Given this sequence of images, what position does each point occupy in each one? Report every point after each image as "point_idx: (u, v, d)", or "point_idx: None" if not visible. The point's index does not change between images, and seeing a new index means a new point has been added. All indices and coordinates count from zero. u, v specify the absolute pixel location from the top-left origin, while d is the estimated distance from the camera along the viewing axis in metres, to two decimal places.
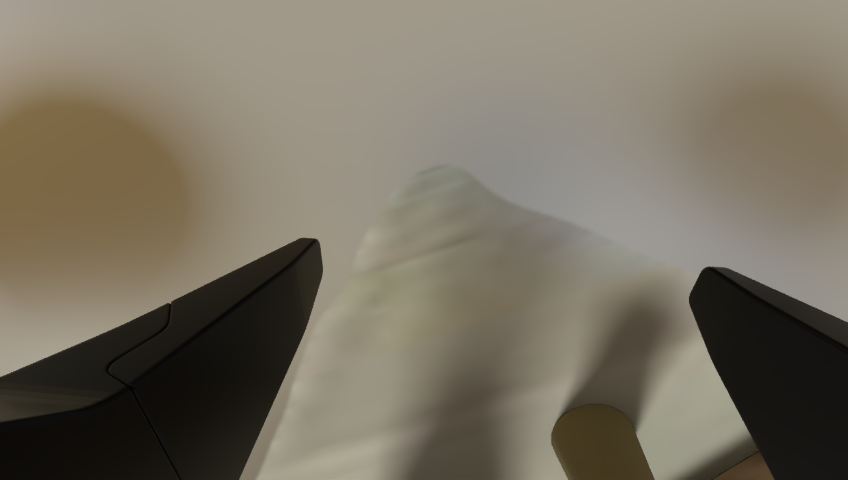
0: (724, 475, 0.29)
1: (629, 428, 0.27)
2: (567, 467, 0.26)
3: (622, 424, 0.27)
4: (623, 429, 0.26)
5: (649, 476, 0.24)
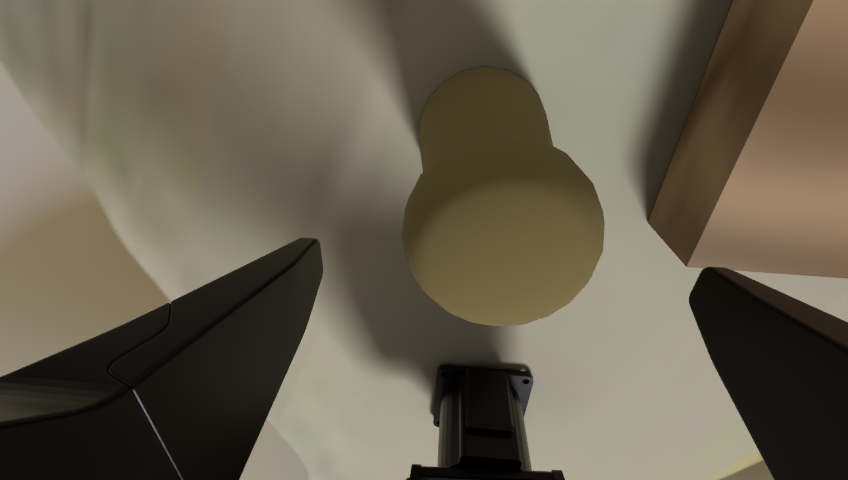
0: (723, 29, 0.15)
1: (487, 75, 0.16)
2: None
3: (471, 77, 0.16)
4: (470, 82, 0.15)
5: (493, 105, 0.13)
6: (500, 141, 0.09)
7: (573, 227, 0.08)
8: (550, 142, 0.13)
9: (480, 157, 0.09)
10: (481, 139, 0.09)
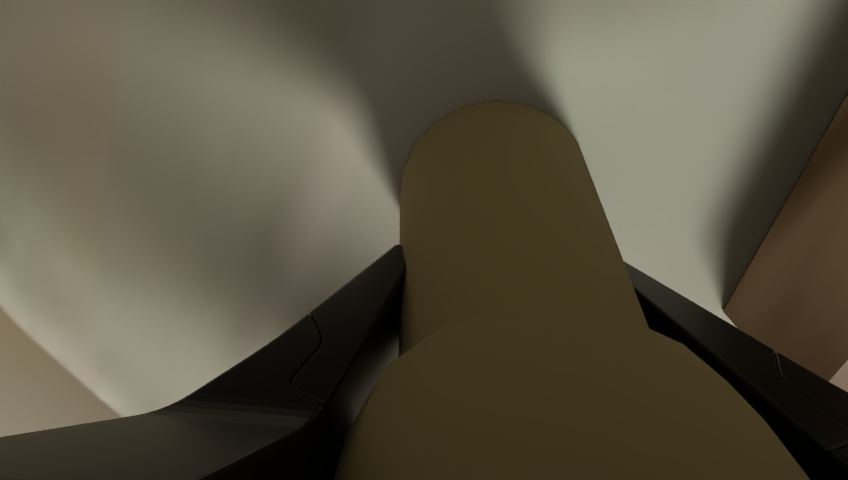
0: None
1: (503, 118, 0.10)
2: None
3: (478, 121, 0.10)
4: (476, 129, 0.10)
5: (520, 187, 0.07)
6: (573, 391, 0.03)
7: None
8: None
9: (520, 460, 0.03)
10: (515, 357, 0.04)
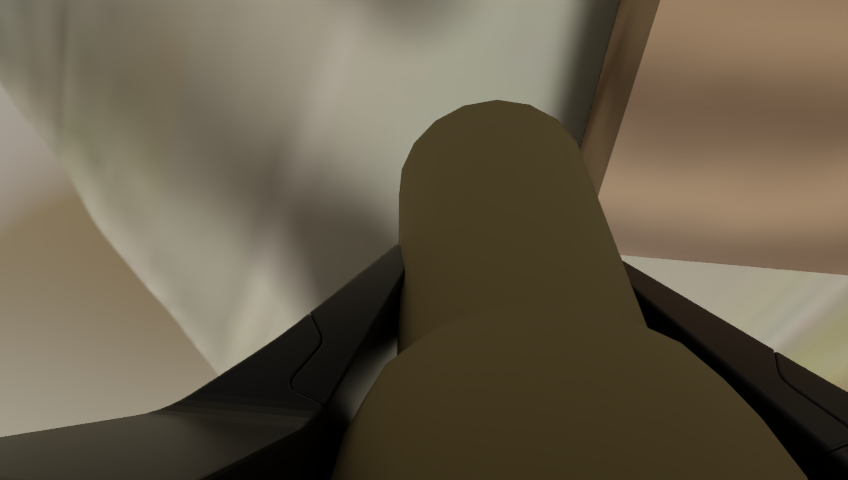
0: (608, 47, 0.18)
1: (502, 117, 0.10)
2: None
3: (477, 121, 0.10)
4: (475, 128, 0.10)
5: (518, 186, 0.07)
6: (569, 389, 0.03)
7: None
8: None
9: (516, 459, 0.03)
10: (512, 355, 0.04)
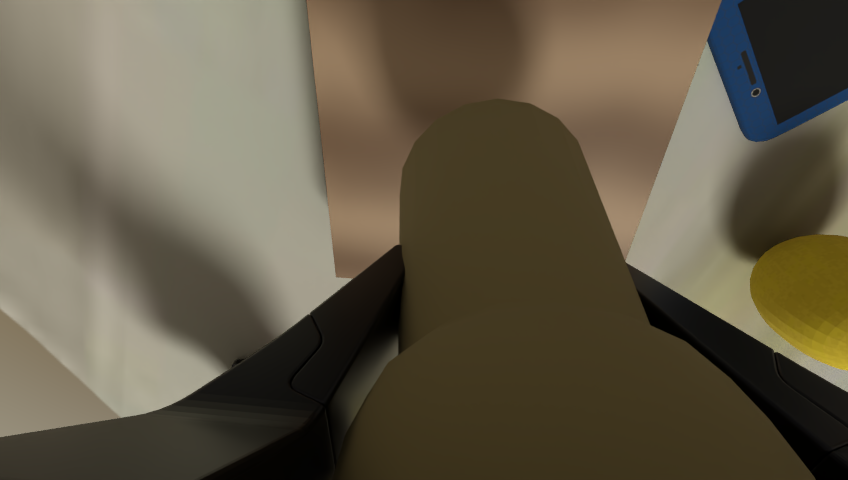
0: None
1: (503, 115, 0.10)
2: None
3: (478, 119, 0.10)
4: (476, 127, 0.10)
5: (520, 185, 0.07)
6: (575, 388, 0.03)
7: None
8: None
9: (521, 458, 0.03)
10: (516, 354, 0.04)
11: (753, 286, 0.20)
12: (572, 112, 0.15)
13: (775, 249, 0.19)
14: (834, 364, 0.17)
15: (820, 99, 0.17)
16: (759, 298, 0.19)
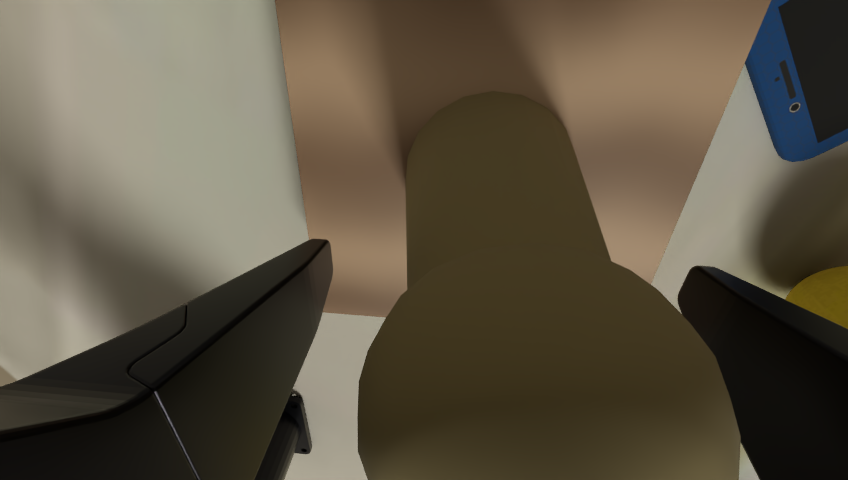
0: None
1: (497, 105, 0.11)
2: None
3: (475, 109, 0.11)
4: (473, 116, 0.11)
5: (509, 162, 0.08)
6: (536, 285, 0.04)
7: None
8: (594, 212, 0.09)
9: (497, 328, 0.04)
10: (496, 269, 0.05)
11: None
12: (588, 132, 0.13)
13: (812, 281, 0.17)
14: None
15: None
16: None
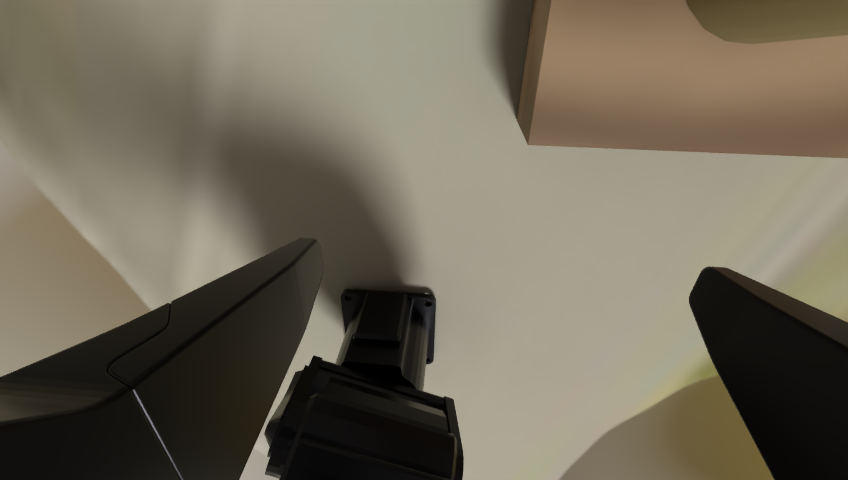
0: None
1: None
2: (757, 1, 0.11)
3: None
4: None
5: None
6: None
7: None
8: None
9: None
10: None
11: None
12: None
13: None
14: None
15: None
16: None
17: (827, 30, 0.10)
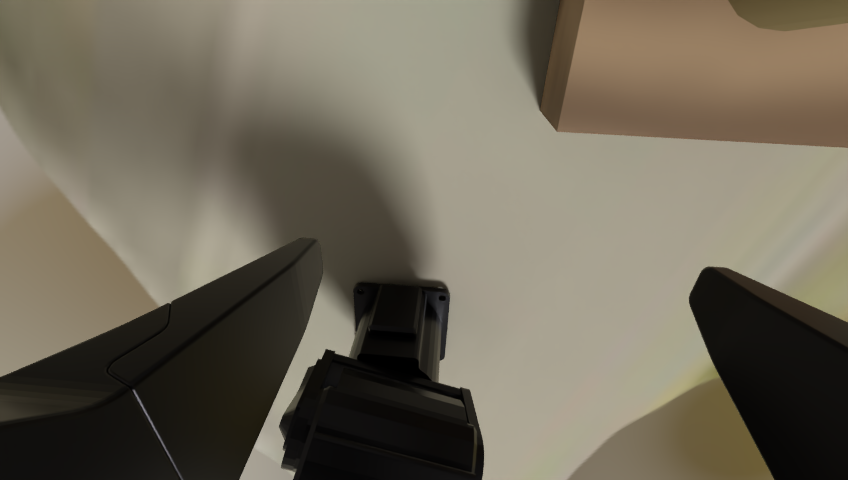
0: None
1: None
2: None
3: None
4: None
5: None
6: None
7: None
8: None
9: None
10: None
11: None
12: None
13: None
14: None
15: None
16: None
17: None
